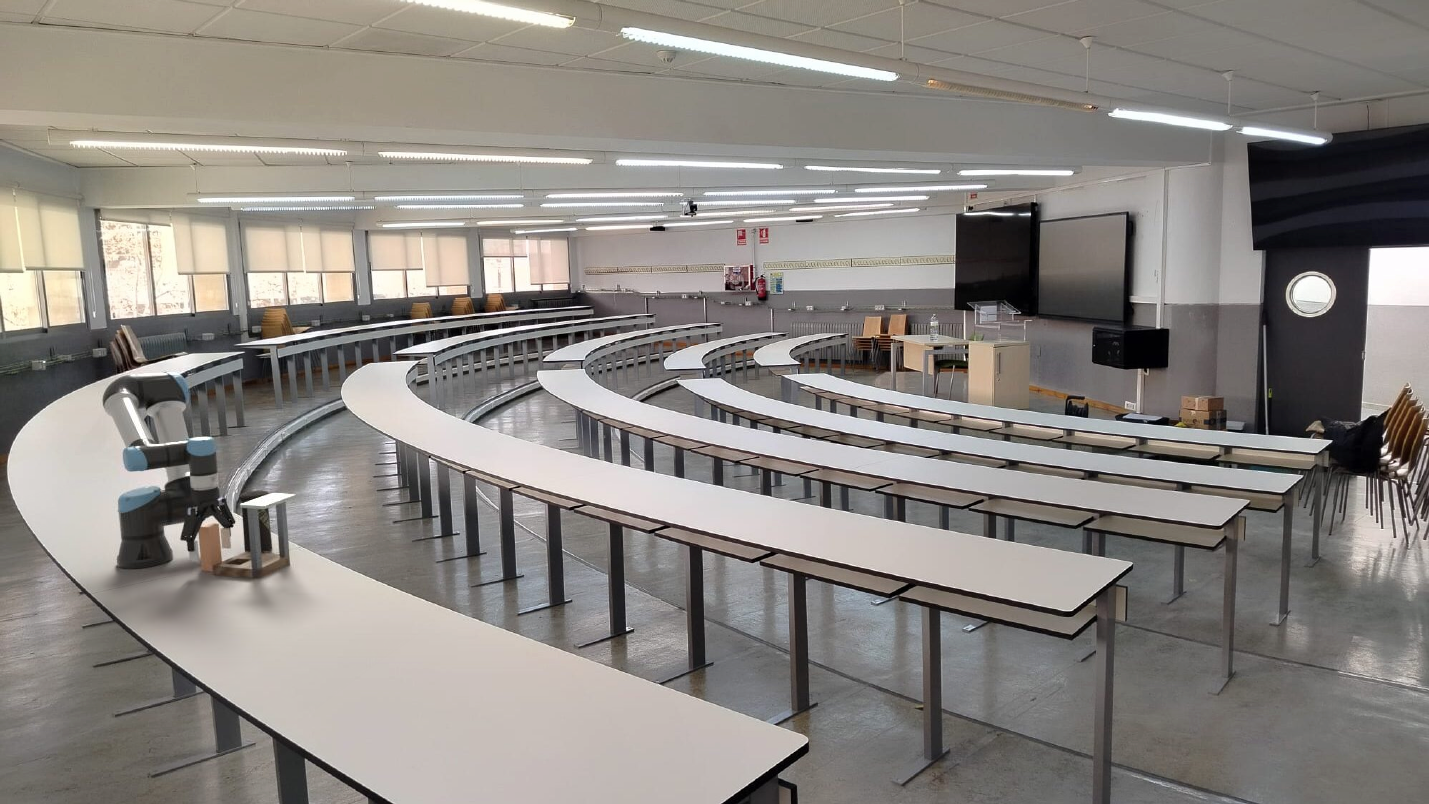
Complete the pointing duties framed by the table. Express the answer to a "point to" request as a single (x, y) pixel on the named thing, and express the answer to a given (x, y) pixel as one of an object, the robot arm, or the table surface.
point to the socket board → (249, 565)
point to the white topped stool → (253, 524)
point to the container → (263, 522)
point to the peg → (209, 546)
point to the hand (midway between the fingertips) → (210, 554)
